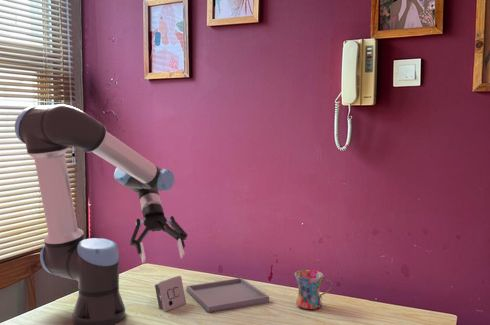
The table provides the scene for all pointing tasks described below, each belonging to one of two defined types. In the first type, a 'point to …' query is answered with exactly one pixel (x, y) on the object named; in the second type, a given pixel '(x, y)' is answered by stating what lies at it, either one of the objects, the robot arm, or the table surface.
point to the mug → (309, 288)
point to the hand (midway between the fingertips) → (163, 259)
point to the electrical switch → (170, 293)
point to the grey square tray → (226, 295)
